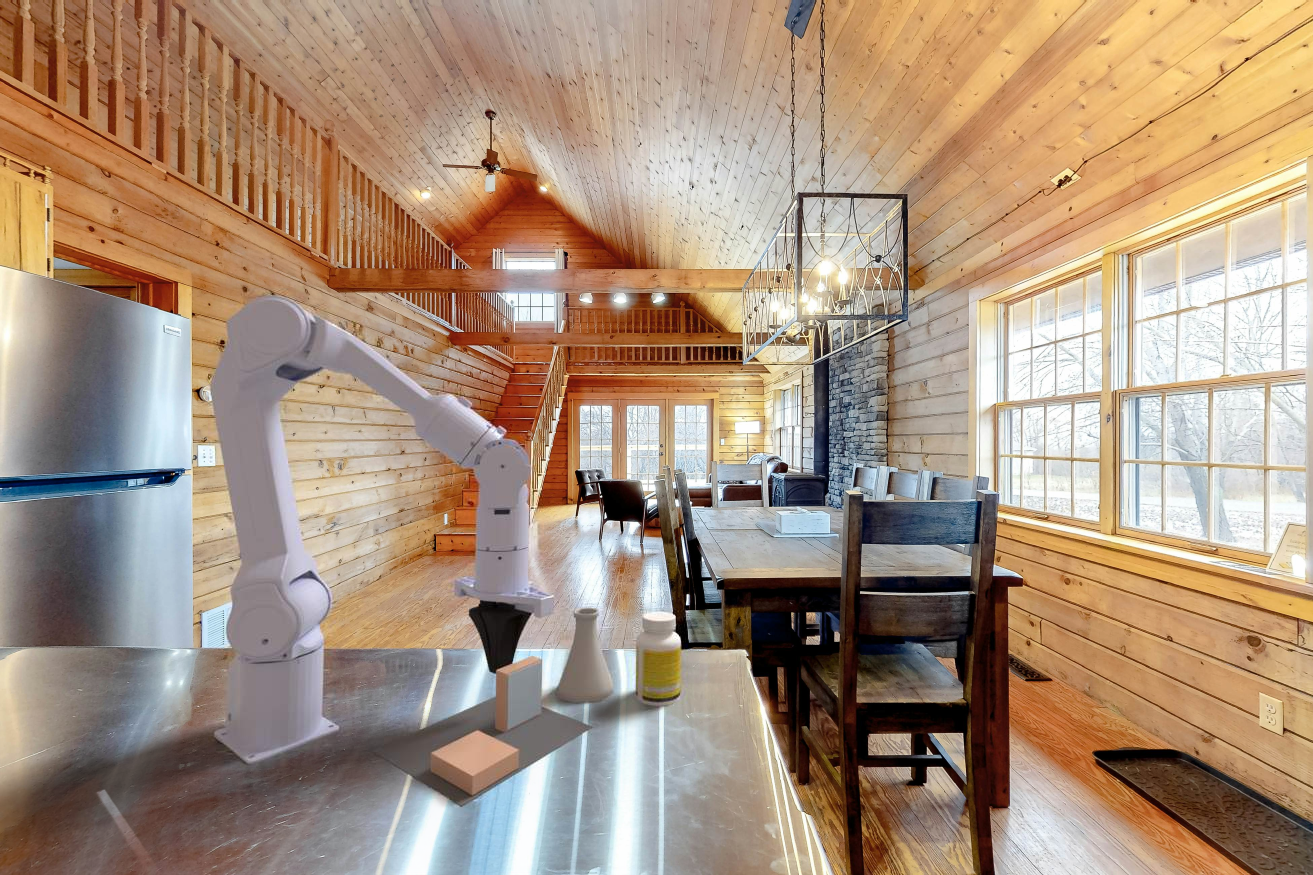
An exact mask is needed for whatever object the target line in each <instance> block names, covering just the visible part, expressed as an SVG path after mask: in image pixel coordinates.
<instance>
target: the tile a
mask: <svg viewBox="0 0 1313 875" xmlns="http://www.w3.org/2000/svg"><path fill="white" fill-rule="evenodd" d="M517 768H519V750H518V749H516V748H514V747H512V746H510V745H508V744H506V743H503V742H501V741H499V740H497V739H495V738H493V737H491V736H489V735H486V734H484V733H482V732H480V731H478V730H477V731H475V732H473V733H471V734H469V735H467V736H465V737H463V738H461V739H459V740H456V741H454V742H452V743H450V744H448V745H446V746H444V747H442V748H440V749H438V750H436V751H434V752H432V753H431V772H433V773H435V774H436V775H438V776H440V777H442V778H443V779H445V780H447V781H448V782H450V783H452V784H454V785H455V786H457V787H459V788H460V789H462V790H464V791H466V792H467V793H469V794H471V795H474V794H476V793H477V792H479V791H481V790H482V789H484V788H486V787H487V786H489V785H491V784H492V783H494V782H496V781H497V780H499V779H501V778H502V777H504V776H506V775H507V774H509V773H511V772H512V771H514V770H516V769H517Z"/></svg>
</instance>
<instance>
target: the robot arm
mask: <svg viewBox="0 0 1313 875" xmlns="http://www.w3.org/2000/svg"><path fill="white" fill-rule="evenodd" d="M225 325H226V335H227V341H226V342H225V345H224V347H223V350H222V353H221V356H220V358H219V360H218V362H217V365H216V368H215V371H214V373H213V375H212V378H211V380H210V387H209V389H210V390H209V392H210V397H211V402H212V409H213V413H214V418H215V423H216V430H217V435H218V440H219V446H220V451H221V457H222V462H223V468H224V472H225V478H226V484H227V489H228V494H229V498H230V506H231V512H232V516H233V521H234V527H235V532H236V538H237V543H238V549H239V554H240V559H241V564H240V566H239V569H238V570H237V573H236V574H235V575H236V576H235V577H234V580H233V582H232V584H231V587H230V595H231V610H230V614H229V615H228V619H227V621H226V627H225V634H226V638H227V641H228V644H229V646H230V647H231V648H232V649H233V651H234V652H236V655H235V657H233V659H232V661H231V663H229V666H228V670H227V674H226V675H227V676H226V705H225V706H226V707H225V709H226V711H225V727H223V728H219V729H216V730H215V731H214V732H213V737H214V738H215V739H217V741H219V742H220V743H222V744H224V745H225V746H226V747H227V748H229V749H230V750H231V751H232V752H233V753H234V754H235V755H237V756H238V757H239V758H240V759H242V761H244V762H245V763H246V764H247V765H253V764H256V763H260V762H263V761H264V760H267V759H269V758H272V757H274V756H277V755H280V754H283V753H284V752H288V751H289V750H292V749H294V748H298V747H300V746H302V745H305V744H308V743H310V742H313V741H315V740H318V739H320V738H323V737H325V736H328V735H330V734H333V733H335V732H338V731H339V730H340V726H339V725H337V724H336V723H334V722H332V721H331V720H329V719H327V718H325V717H324V716H323V697H324V694H323V692H324V691H323V690H324V688H323V687H324V652H325V650H324V649H325V642H324V641H325V636H324V635H323V632H322V630H321V623H323V622H324V621H325V620H326V618H327V617H328V616H329V614H330V612H331V609H332V607H333V594H332V590H331V589H330V587H329V585H328V584H327V583H326V582H325V581H324V579H323V578H322V577H321V576H320V573H319V571H318V566H317V562H316V560H315V559H314V558H313V556H312V555H311V554H310V552H308V551H307V549H306V548H305V546H304V542H303V534H302V530H301V524H300V518H299V513H298V508H297V503H296V502H297V501H296V498H295V492H294V486H293V481H292V476H291V470H290V465H289V459H288V453H287V449H286V443H285V437H284V431H283V426H282V421H281V420H282V419H281V414H280V410H279V409H280V408H279V402H280V401H281V399H283V397H285V396H286V395H287V394H288V393H289V392H290V391H291V390H292V389H293V388H294V387H295V386H296V385H297V384H299V383H300V382H302V381H305V380H306V379H308V378H310V377H313V375H316V374H318V373H320V372H323V370H328V371H330V372H333V373H336V374H345V375H351V376H353V377H354V378H355V379H357V380H358V381H360V382H361V383H363V384H364V385H366V386H367V387H369V388H371V389H372V390H373V391H374V392H376V393H377V394H379V395H380V396H382V397H384V398H385V399H387V400H388V401H389V402H391V403H392V404H394V405H395V406H397V407H398V408H400V409H401V410H402V411H404V412H405V413H407V414H408V415H409V416H411V417H412V418H413V422H414V423H413V424H414V430H415V434H416V436H417V437H419V438H420V439H422V440H423V441H425V443H427V444H428V445H430V446H431V447H432V448H434V449H436V450H437V451H438V452H440V453H441V454H442V455H443V456H445V457H447V458H448V459H449V460H451V461H452V462H453V463H455V464H456V465H457V466H459V467H460V468H462V469H463V470H467V469H472V470H473V473H474V474H473V475H474V478H475V480H476V482H477V483H478V484H479V485H478V505H477V506H476V508H475V511H476V513H475V514H476V515H475V551H474V552H475V558H474V559H475V560H474V562H475V563H474V577H472V576H465V577H460V578H459V577H458V578H456V579H454V589H453V591H454V592H453V593H454V596H455V597H457V598H462V597H468V598H471V599H476V600H479V603H478V606H475V607H471V608H469V609H468V616H469V618H470V619H471V622H473V624H474V626H475V628H476V630H477V633H478V635H479V637H480V640H481V643H482V648H483V651H484V656H485V658H486V663H487V667H488V671H489V672H490V673H492V674H494V675H496V670H498V669H500V668H503V667H505V666H508V665H510V664H513V663H514V659H515V654H516V651H517V648H518V645H519V644H518V643H519V642H520V638H521V636H522V634H523V631H524V629H525V627H526V625H527V623H528V622H529V620H530V618H531V616H532V614H534V615H533V616H534V617H536V618H538V619H539V618H540V619H541V618H544V617H548V616H551V615H554V614H555V595H554V594H550V593H547V592H544V591H543V590H540V589H538V588H537V587H535V586H534V580H529V550H530V548H529V547H530V546H529V544H530V506H529V504H528V503H527V502H528V500H529V494H530V493H529V487H528V484H527V482H528V480H529V478H530V476H531V474H532V465H531V462H530V457H529V455H528V453H527V451H526V450H525V449H524V447H523V446H521V445H520V444H519V442H518V441H516V440H514V439H509V438H504V436H505V435H506V433H507V430H506V429H505V428H504V427H502V426H501V425H498V426H497V427H496V426H495V425H493V424H492V423H490V422H489V421H488V420H487V419H485V418H484V417H482V416H481V415H480V414H478V413H477V412H475V411H474V410H473V409H471V407H472V406H473V403H472V402H471V401H470V400H468V399H467V398H466V397H464V396H460V397H459V399H458V398H457V397H456V396H454V395H453V394H452V393H451V394H450V393H446V394H445V393H444V394H435V395H434V394H431V393H430V392H428V390H425V389H424V388H423V386H421V385H419V384H418V383H417V382H416V381H414V380H413V379H412V378H411V377H410V376H408V375H407V374H405V373H404V372H403V371H401V370H400V369H399V368H398V367H396V366H395V365H394V364H393V363H391V362H390V361H389V360H388V359H386V358H385V357H384V356H382V355H381V354H380V353H378V352H377V351H376V350H375V349H373V347H371V346H370V345H368V344H367V343H366V342H364V341H362V340H361V339H359V337H357V336H355V335H353V334H351V333H350V332H348V331H346V330H344V329H343V328H341V327H339V326H337V325H336V324H334V323H332V322H330V321H329V320H326V319H324V318H323V317H321V316H319V315H317V314H315V313H312V314H311V313H310V312H308V311H307V310H305V309H304V308H303V307H302V306H301V305H300V304H298V303H297V302H295V301H294V300H292V299H291V298H288V297H285V296H281V295H273V294H272V295H271V294H269V295H263V296H258V297H256V298H254V299H252V300H251V301H249V302H247V303H246V304H245V305H244V306H243V307H241V309H240V310H238V311H237V312H236V313H235V314H234V315H233V316H231V317H230V318H228V320H227V321H226V322H225Z"/></svg>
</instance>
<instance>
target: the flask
mask: <svg viewBox="0 0 1313 875" xmlns="http://www.w3.org/2000/svg"><path fill="white" fill-rule="evenodd" d="M599 615H600V610H599V608H597V607H596V608H595V607H592V606H591V607H588V606H587V607H578V608H576V609H574V610H573V618H574V619H575V631H574V635H573V642H572V644H571V647H570V651H569V654H568V658H567V660H566V662H565V665H564V668H563V672H562V673H561V674H562V675H561V677H560V679H559V682H558V685H557V690H556V698H557V699H561V700H563V701H568V702H569V703H570V702H571V703H574V704H579V703H580V704H582V703H583V704H584V703H585V704H587V703H601V702H603V701H604V700H605V699H607V698H608V697H610V696H611V695H613V694H614V692H615V691H614V683H613V680H612V676H611V674H610V672H609V671H610V670H609V668H608V666H607V663H606V662H607V661H606V659H605V656H604V653H603V650H602V646H601V643H600V640H599V634H598V629H597V628H598V627H597V619H598V618H599Z"/></svg>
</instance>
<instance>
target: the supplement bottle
mask: <svg viewBox="0 0 1313 875" xmlns="http://www.w3.org/2000/svg"><path fill="white" fill-rule="evenodd" d="M676 622H677V621H676V615H675V614H673V613H671V612H666V611H650V612H646V613H644V614H643V615H642V624H641V625H642V629H643V631H641V632H640V633H639V634H638V635H637V637H636V643H635V646H636V647H635V698H636V700H637V701H638V702H640V703H642V704H644V705H648V706H655V707H659V706H660V707H662V706H669V705H673V704H675V703H676V702H678V701H679V700H680V698H681V692H682V690H681V688H682V687H681V686H682V683H681V682H682V677H681V676H682V671H681V670H682V641H681V636H679V634H678V633H677V632H675V631H674V630H676V626H677V623H676Z"/></svg>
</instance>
